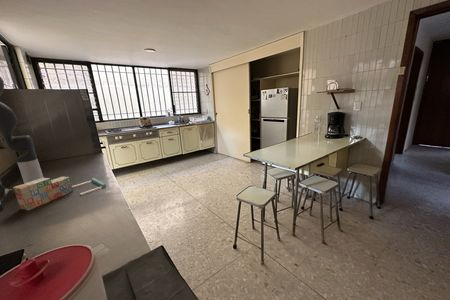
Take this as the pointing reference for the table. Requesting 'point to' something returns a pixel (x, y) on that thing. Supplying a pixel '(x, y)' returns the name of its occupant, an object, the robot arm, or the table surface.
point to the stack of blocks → (41, 191)
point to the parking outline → (92, 189)
